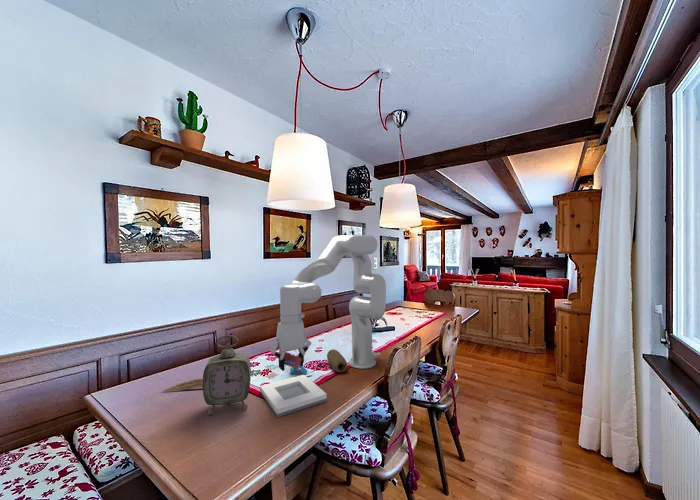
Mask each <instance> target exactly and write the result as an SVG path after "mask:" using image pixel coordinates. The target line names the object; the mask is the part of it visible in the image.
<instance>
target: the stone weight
mask: <svg viewBox="0 0 700 500" xmlns="http://www.w3.org/2000/svg"><path fill="white" fill-rule="evenodd" d="M326 359H327V361H328V363H329V365H330V366H331V368H332V369H333V370H334V371H335V372H337V373H343V372H345V371H347V369H348V361H347V360H346V359H345V358H344V356H343V355H342V354H341V353H340V351H338V350H337V349H330V350H329V351H328V352H327V354H326Z"/></svg>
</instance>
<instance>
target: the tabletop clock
mask: <svg viewBox="0 0 700 500" xmlns="http://www.w3.org/2000/svg"><path fill="white" fill-rule="evenodd" d="M227 338H234V339H235V340H236V343H234V344H230V343H226V344H225V345H220V344H219V342H220V340H223V339H227ZM237 344H239V338H238V337H237V336H235V335H231V334H228V335H227V334H226V335H223V336H221V337H219V338H218V339H217V341H216V345H217V346H218V348H220V349H221V348H222V350H221V352H220V354H218V355H215V356H212V357H210V359H209V360H208V362H207V363H206V365H205V366H204V367H205V368H204V370H203V375H202V379H203V385H202V386H203V389H202V394H203V395H202V396H203V399H204V403H205V404H206V405H209V406H211V407H210V409H209V410H208V411H207V414H208V415H209V416H211V415H213V414H214V408H215V406H226V405H227V406H231V405H232V404H236V403H239V402H241V405H242V406H241V408H242V410H247V408H248V404H245V401H244V400H246V399H248V396H249V394H250V393H249V392H250V388H251V387H250V384H251V380H252V379H251V378H252V367H251V366H252V365H251V359H250V357H249V355H248V354H247V353H245V352H244V353H243V352H236V351H235V349H234V347H236V346H237Z"/></svg>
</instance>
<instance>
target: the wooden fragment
mask: <svg viewBox="0 0 700 500" xmlns="http://www.w3.org/2000/svg"><path fill="white" fill-rule="evenodd" d="M202 385H203V378H202V379H201V378H197V379H193V380H189V381H185V382H184V381H183V382H182V383H177V384H176V385H174V386H172V387H169V388H166V389H164V390H163V391H161V392H160V393H168V392H170V393H172V392H180V391H186V390H187V391H188V390H200V389H202V390H203V386H202Z"/></svg>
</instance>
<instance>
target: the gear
mask: <svg viewBox="0 0 700 500" xmlns="http://www.w3.org/2000/svg"><path fill="white" fill-rule="evenodd" d="M290 369H291V370H290V371H289V374H290V375H291V374H292V375H293V373H294V372H295V371H296V369H297V368H296V369H295V368H293V367H292V368H291V367H290ZM298 369H301V370H302V371H303V372H304V373H307V372H308V369H306V368H305V367H304V365H303V366H299V368H298ZM298 369H297V370H298Z"/></svg>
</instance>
